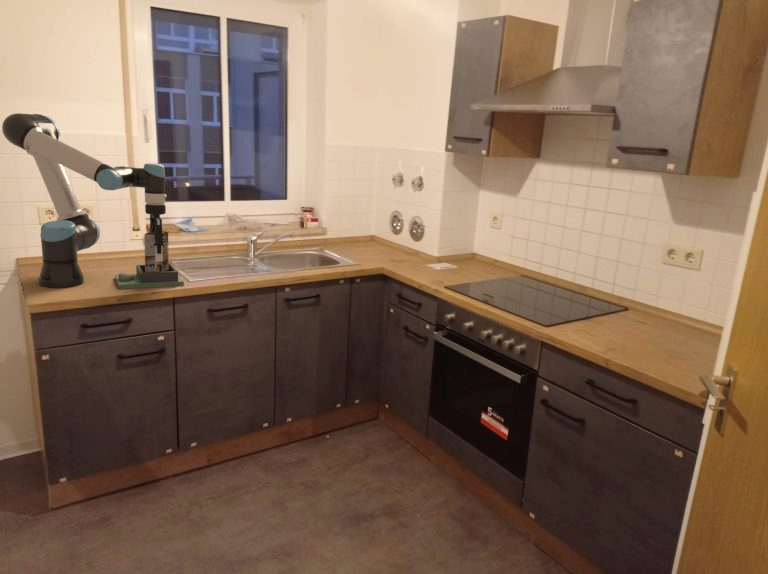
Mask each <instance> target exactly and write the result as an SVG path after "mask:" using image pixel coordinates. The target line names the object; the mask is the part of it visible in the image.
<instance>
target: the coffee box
mask: <svg viewBox="0 0 768 574" xmlns="http://www.w3.org/2000/svg"><path fill="white" fill-rule="evenodd" d="M162 234H163V245H162V248H163V261H160V262H155V246H154V244H155V234H154V231H151V232H150V231H149V232H146V233H144V235H143V237H144V261H145V262H144V265H145V272H165V271H167V270H169V264H170V263H169V231H164V230H162ZM158 242H160V241H158Z"/></svg>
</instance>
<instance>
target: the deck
mask: <svg viewBox="0 0 768 574" xmlns="http://www.w3.org/2000/svg"><path fill="white" fill-rule="evenodd" d="M135 268H136V269H135V270H136V273H132V272H121V273H119V274H114V279H115V281H116V285H117V287H118V289H119V290H120V289H138V288H155V287H173V285H178V286H184V285H185V284H184V283H185V281H184V280H183V279H182V277H181V276H180V275H179V271H178V270H177V268H176V267H175V266H174V265H173V263H169V270H167V271H165V272H145V264H136V265H135Z"/></svg>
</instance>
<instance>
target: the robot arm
mask: <svg viewBox="0 0 768 574" xmlns="http://www.w3.org/2000/svg"><path fill="white" fill-rule="evenodd" d="M1 130H2V133H3V136H4V137H5V139H6V140H7V141H8V142H9V143H11V144H12V145H14V146H16V147H18V148H20V149H22V150H24V151H26V153H27V155H30V156H31V157H33V159H34V161H35V163H36V166H37V168H38V171H39V172H40V176H41V178H42V180H43V183H44V184H45V188H46V190H47V191H48V195H49V197H50V199H51V202H52V204H53V207H54V209H55V211H56V214H57V219H56V220H55V221H54V220H51V221H47V222H45V223H44V224H42V225H41V226H40V235H39V236H40V242H41V243H40V244H41V254H42V267H41V270H40V272H39V273H40V274H39V277H38V283H39V285H40V286H42V287H45V288H55V289H56V288H71V287H75V286H79V285H82V284H84V282H85V279H84V278H85V277H84V273H83V272H82V270H81V267H80V265H79V263H78V261H79V259H78V252H79V251H83V250H87V249H89V248H91V247H93V246H94V245H96V243H97V242H98V241H99V239H100V236H101V234H100V233H101V231H100V228H99V226H98V224H97V223H96V222H95V221H93V220H92V219H90V218H89V215H88V212H86V211H84V210H83V209H81V206H80V203H79V201H78V199H77V196H76V193H75V191H74V189H73V186H72V184H71V181H70V179H69V177H68V174H67V171H66V169H65V168H67V169H69V170H71V171H73V172H75V173H78V174H79V175H82V176H84V177H86V178H88V179H90V180H91V181H93V182H96V183H97V184H98V186H99V187H100V188H101V189H103V190H104V191H116V190H120V189H124V188H125V189H126V188H144V203H145V205H144V209H145V210H144V211H145V214H146V215H149V232H151V231H154V234H155V244H154V246H155V262H160V261H163V248H162V245H163V234H162V231H163V220H162V218H161V215H165V214H166V213H167V212H166V211H167V209H166V208H167V207H166V198H168V196H167V194H166V173H165V172H166V171H165V166H164V165H163V164H160V163H148V162H147V163H145V164H144V165H143V168H140V167H133V166H132V167H131V166H122V165H121V166H115V167H112V166H111V165H108V164H106V163H105V162H103V161H100V160H98V159H96V158H94V157H92V156H91V155H88V154H86V153H85V152H82V151H80V150H79V149H77V148H74V147H73V146H70V145H68V144H67V143H65V142H63V141H60V139H59V138H60V135H61V134H60V129H59V126H58V125H57V123H56V122H55V121H54V120H53V119H52V118H50V117H49V116H46V115H43V114H39V113H21V112H20V113H12V114H10V115H7V117H5V118H4V120H3V122H2V126H1ZM158 241H160V242H158Z"/></svg>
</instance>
